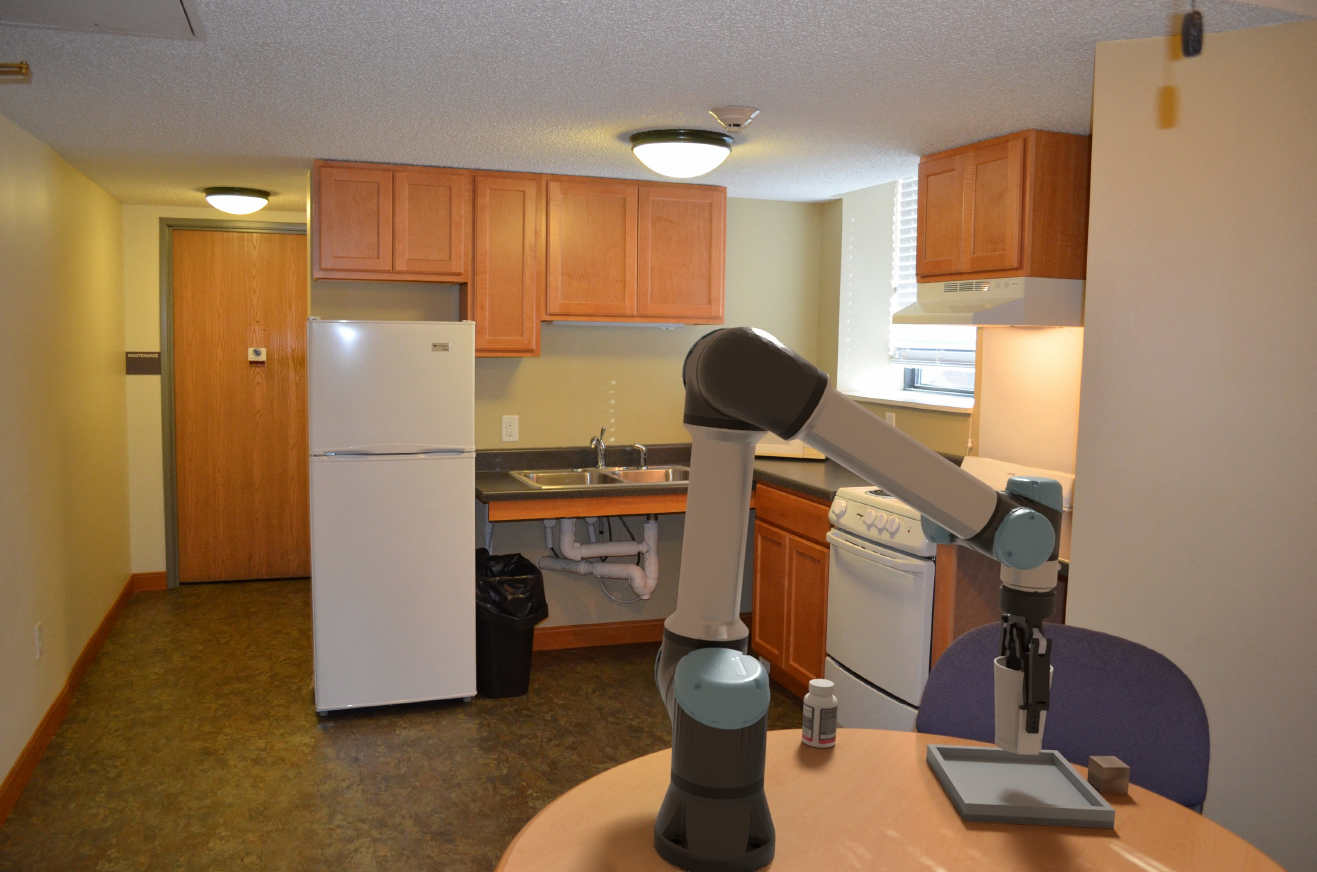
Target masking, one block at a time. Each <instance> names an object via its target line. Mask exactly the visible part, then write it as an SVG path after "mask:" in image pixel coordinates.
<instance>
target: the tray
mask: <svg viewBox="0 0 1317 872" xmlns="http://www.w3.org/2000/svg"><path fill="white" fill-rule="evenodd" d="M926 745H927V747H926V757H925V758H926V759H925V760H926V762H927V764H928V765H929V766H930V768H931V770H932V772H933V773H934V774H935V777H936V778H937V780H938V781H939V783H940V784H941V786H942V788H943V789H944V792H946V794H947V796H948V797H949V799H950V801H951V802H952V804H953V805H954V807H955V809H956V810H957V812H958V814H959V816H960V817H961V818H962V820H963V822H976V823H994V824H996V823H997V824H1017V825H1037V826H1051V827H1052V826H1056V827H1074V828H1075V827H1078V828H1079V827H1080V828H1092V829H1093V828H1094V829H1115V819H1116V810H1115V808H1114V807H1113V806H1111V804H1110V803H1109V802H1108V801H1107V800H1106V799H1105V798H1104V797H1103V796H1102V795H1101V793H1100V792H1099V791H1098V790H1097V789H1096V788H1094V787H1093V786H1092V785H1091V784H1090V783H1088V782H1087V780H1086V778H1085V777H1084V776H1082V774H1081V773H1080V772H1079V771H1078V770H1077V769H1076V768H1075V767H1074V766H1073V765H1072V764H1071V763H1070V762H1069V761H1068V760H1067V759H1066V757H1064V756H1063V755H1062V753H1061V752H1060V751H1059V750H1057V749H1055V750H1053V749H1041V752H1039V755H1023V754H1016V753H1012V752H1008V751H1005V750H1003V749H1001V748H999V747H998V746H994V747H993V746H975V745H973V746H972V745H956V744H955V745H954V744H953V745H952V744H934V743H932V744H931V743H927V744H926Z"/></svg>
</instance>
